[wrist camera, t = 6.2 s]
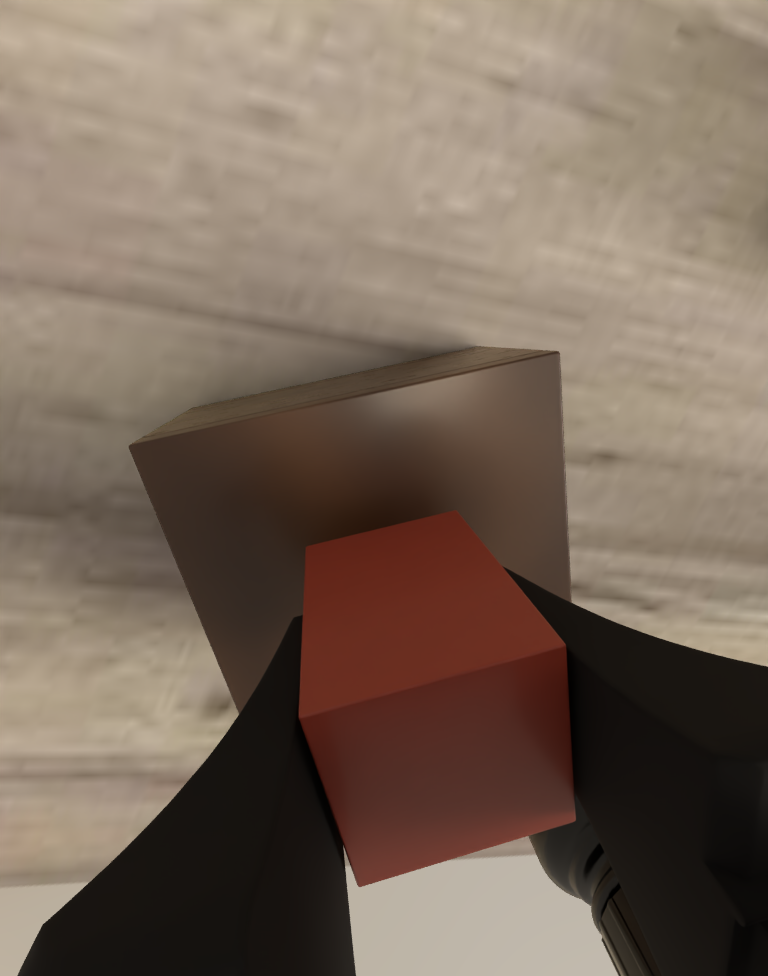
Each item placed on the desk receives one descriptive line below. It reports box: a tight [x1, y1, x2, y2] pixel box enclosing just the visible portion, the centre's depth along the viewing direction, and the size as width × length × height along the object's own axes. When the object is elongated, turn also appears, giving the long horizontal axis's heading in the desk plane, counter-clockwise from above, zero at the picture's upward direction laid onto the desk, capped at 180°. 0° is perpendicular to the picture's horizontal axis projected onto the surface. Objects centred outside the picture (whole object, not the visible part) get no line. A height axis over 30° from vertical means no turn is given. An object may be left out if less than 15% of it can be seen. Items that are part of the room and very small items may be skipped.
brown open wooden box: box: [129, 346, 572, 714], centre depth 17 cm, size 12×11×6 cm
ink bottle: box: [529, 791, 662, 976], centre depth 20 cm, size 10×9×12 cm
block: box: [299, 510, 576, 887], centre depth 10 cm, size 4×4×6 cm
